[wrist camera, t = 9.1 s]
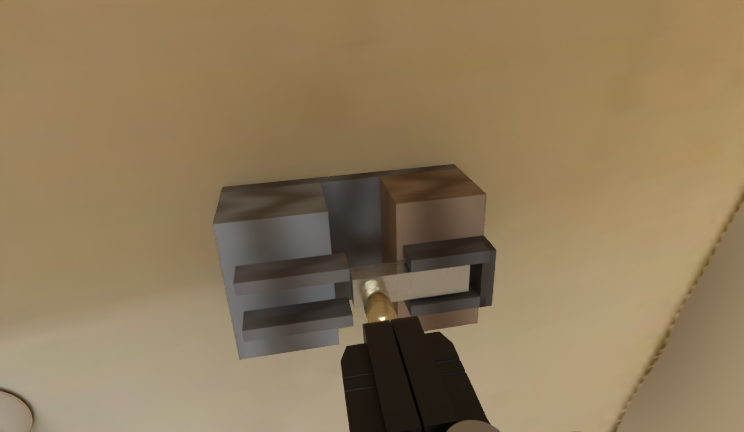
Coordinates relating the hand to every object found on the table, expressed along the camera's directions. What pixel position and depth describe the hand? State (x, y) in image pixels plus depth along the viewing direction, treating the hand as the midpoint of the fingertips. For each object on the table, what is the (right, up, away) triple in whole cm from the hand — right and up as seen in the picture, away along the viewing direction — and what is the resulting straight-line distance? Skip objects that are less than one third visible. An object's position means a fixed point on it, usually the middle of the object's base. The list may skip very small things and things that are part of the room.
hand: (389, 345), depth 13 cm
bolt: (+2, -1, +24) cm, 25 cm away
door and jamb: (-3, +2, +30) cm, 31 cm away
